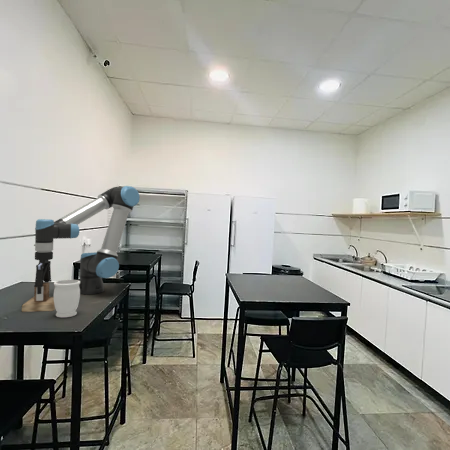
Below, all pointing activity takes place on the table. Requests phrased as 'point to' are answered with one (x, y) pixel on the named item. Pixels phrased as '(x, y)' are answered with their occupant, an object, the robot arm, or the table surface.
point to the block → (45, 293)
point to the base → (38, 305)
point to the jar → (66, 297)
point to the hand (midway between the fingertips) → (42, 297)
